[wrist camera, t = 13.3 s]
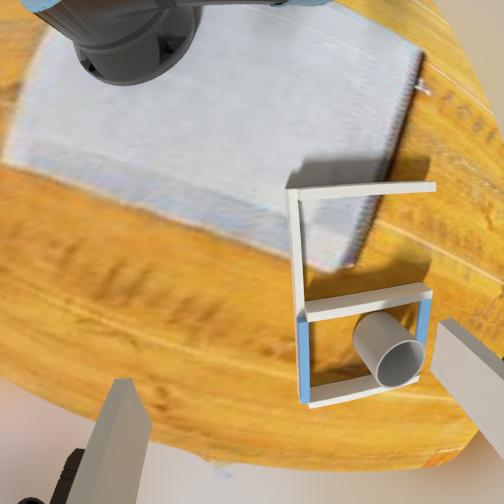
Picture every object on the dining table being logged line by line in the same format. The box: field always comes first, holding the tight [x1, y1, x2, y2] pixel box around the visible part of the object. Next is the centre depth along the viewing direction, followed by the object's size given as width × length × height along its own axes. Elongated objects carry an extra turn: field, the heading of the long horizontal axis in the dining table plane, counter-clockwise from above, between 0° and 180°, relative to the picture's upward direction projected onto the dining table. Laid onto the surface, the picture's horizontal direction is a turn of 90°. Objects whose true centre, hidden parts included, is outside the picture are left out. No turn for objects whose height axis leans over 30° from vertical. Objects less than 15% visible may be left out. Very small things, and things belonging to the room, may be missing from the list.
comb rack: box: [285, 181, 436, 409], centre depth 39 cm, size 30×21×4 cm
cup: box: [352, 312, 425, 388], centre depth 39 cm, size 7×10×9 cm
